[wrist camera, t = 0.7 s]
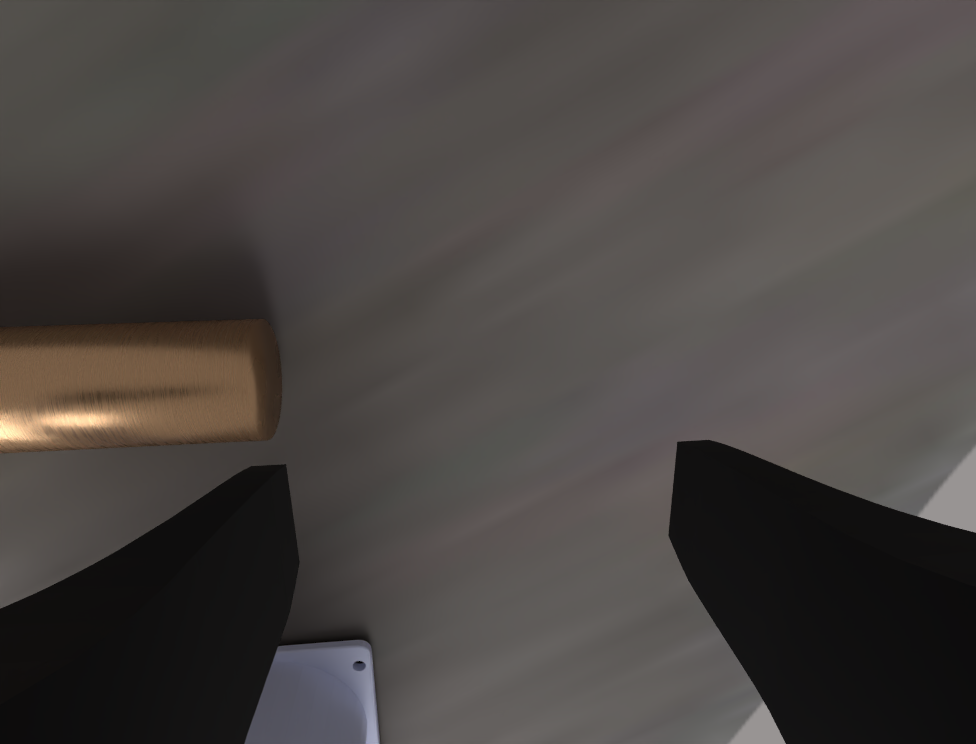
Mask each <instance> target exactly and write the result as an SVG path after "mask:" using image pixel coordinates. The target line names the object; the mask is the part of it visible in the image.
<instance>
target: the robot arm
mask: <svg viewBox="0 0 976 744" xmlns="http://www.w3.org/2000/svg"><path fill="white" fill-rule="evenodd" d="M668 536H669V538H670V540H671V543H672V545H673V547H674V550H675V552H676V554H677V557H678V559H679V561H680V563H681V566H682V568H683V570H684V572H685V574H686V576H687V578H688V581H689V582H690V584H691V586H692V587H693V589H694V591H695V592H696V594H697V595H698V597H699V599H700V600H701V602H702V603H703V605H704V607H705V608H706V610H707V611H708V613H709V615H710V616H711V618H712V619H713V621H714V623H715V624H716V626H717V627H718V629H719V630H720V632H721V634H722V635H723V637H724V638H725V640H726V641H727V643H728V644H729V646H730V648H731V649H732V651H733V652H734V654H735V655H736V657H737V659H738V660H739V662H740V663H741V665H742V666H743V668H744V670H745V671H746V673H747V674H748V676H749V677H750V679H751V681H752V682H753V684H754V685H755V687H756V689H757V690H758V692H759V694H760V696H761V697H762V699H763V701H764V702H765V704H766V705H767V708H768V709H769V711H770V713H771V715H772V717H773V719H774V721H775V723H776V725H777V727H778V729H779V730H780V733H781V735H782V737H783V739H784V741H785V743H786V744H976V533H974V532H970V531H967V530H963V529H959V528H955V527H951V526H948V525H944V524H941V523H937V522H934V521H931V520H927V519H924V518H921V517H917V516H914V515H910V514H907V513H904V512H900V511H897V510H894V509H891V508H888V507H885V506H882V505H879V504H876V503H873V502H870V501H868V500H865V499H862V498H859V497H857V496H854V495H851V494H848V493H846V492H843V491H840V490H838V489H835V488H832V487H830V486H827V485H825V484H822V483H820V482H817V481H814V480H812V479H810V478H807V477H805V476H802V475H800V474H797V473H795V472H792V471H790V470H788V469H785V468H783V467H780V466H778V465H776V464H773V463H771V462H768V461H766V460H763V459H761V458H759V457H756V456H754V455H751V454H749V453H746V452H744V451H741V450H739V449H736V448H733V447H731V446H728V445H725V444H722V443H719V442H715V441H711V440H700V441H683V442H677V452H676V462H675V473H674V483H673V494H672V504H671V514H670V525H669V535H668ZM298 567H299V555H298V548H297V540H296V533H295V526H294V519H293V512H292V504H291V497H290V490H289V483H288V475H287V468H286V464H284V465H267V466H251V467H249V468H247V469H245V470H243V471H241V472H240V473H238V474H236V475H235V476H233V477H231V478H230V479H228V480H227V481H225V482H224V483H222V484H221V485H219V486H218V487H216V488H215V489H213V490H212V491H210V492H209V493H208V494H206V495H205V496H203V497H202V498H200V499H199V500H197V501H196V502H194V503H193V504H191V505H190V506H188V507H187V508H185V509H184V510H182V511H181V512H179V513H178V514H176V515H175V516H173V517H172V518H170V519H169V520H167V521H165V522H164V523H162V524H160V525H159V526H157V527H156V528H154V529H152V530H151V531H149V532H147V533H146V534H144V535H143V536H141V537H139V538H138V539H136V540H134V541H133V542H131V543H129V544H128V545H126V546H125V547H123V548H121V549H120V550H118V551H116V552H115V553H113V554H111V555H109V556H107V557H106V558H104V559H102V560H100V561H98V562H97V563H95V564H93V565H91V566H89V567H87V568H86V569H84V570H82V571H80V572H78V573H76V574H74V575H72V576H70V577H68V578H66V579H64V580H62V581H60V582H58V583H56V584H54V585H52V586H50V587H48V588H46V589H44V590H42V591H40V592H37V593H35V594H33V595H31V596H29V597H26V598H24V599H22V600H19V601H17V602H15V603H13V604H10V605H8V606H6V607H3V608H1V609H0V744H380V735H379V724H378V713H377V702H376V691H375V680H374V669H373V658H372V648H371V645H370V644H369V643H368V642H366V641H364V640H349V641H336V642H323V643H311V644H298V645H285V646H278V645H279V642H280V639H281V636H282V633H283V630H284V627H285V625H286V621H287V618H288V615H289V612H290V608H291V603H292V598H293V594H294V589H295V583H296V578H297V573H298ZM356 661H362V662H364V663H361V664H359V663H356Z"/></svg>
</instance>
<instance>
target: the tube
mask: <svg viewBox="0 0 976 744" xmlns="http://www.w3.org/2000/svg"><path fill="white" fill-rule="evenodd" d="M281 402H282V373H281V362H280V355H279V350H278V345H277V341H276V338H275V335H274V332H273V330H272V327H271V326H270V324H269V323H268V322H267V321H266V320H265V319H245V320H213V321H181V322H149V323H118V324H86V325H54V326H22V327H0V453H17V452H38V451H58V450H79V449H99V448H119V447H140V446H160V445H181V444H201V443H221V442H242V441H262V440H270V439H271V438H272V437H273V435H274V434H275V432H276V429H277V426H278V422H279V418H280V412H281Z"/></svg>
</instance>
